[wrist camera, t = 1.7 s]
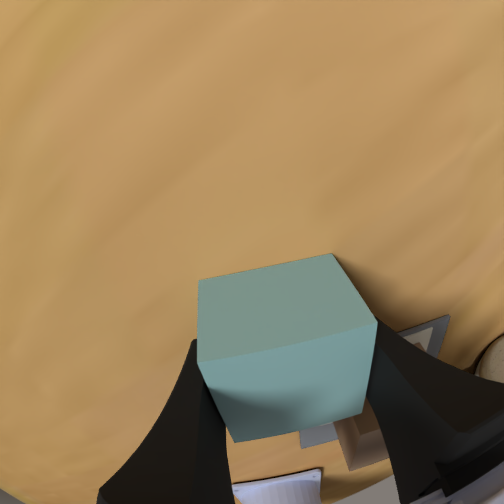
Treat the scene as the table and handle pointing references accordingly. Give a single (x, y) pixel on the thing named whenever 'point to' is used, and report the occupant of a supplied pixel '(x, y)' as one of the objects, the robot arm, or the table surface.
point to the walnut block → (362, 437)
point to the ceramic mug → (492, 362)
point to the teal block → (284, 347)
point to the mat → (425, 334)
